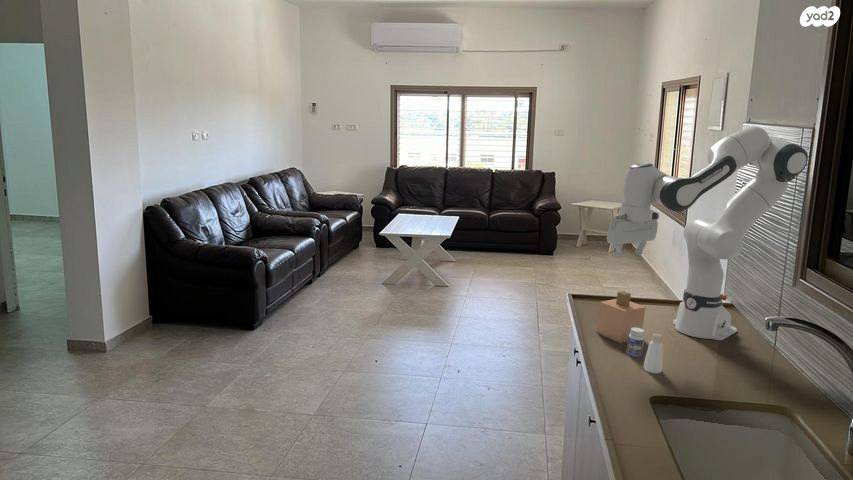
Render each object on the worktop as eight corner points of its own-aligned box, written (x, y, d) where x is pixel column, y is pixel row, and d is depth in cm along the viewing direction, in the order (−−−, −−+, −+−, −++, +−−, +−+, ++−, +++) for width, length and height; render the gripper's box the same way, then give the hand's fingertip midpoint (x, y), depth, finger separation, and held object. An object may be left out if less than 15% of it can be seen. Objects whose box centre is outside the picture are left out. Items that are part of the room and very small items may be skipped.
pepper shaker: (662, 375, 183) (667, 339, 181) (642, 371, 185) (647, 336, 183) (662, 367, 188) (667, 333, 186) (643, 364, 190) (648, 330, 188)
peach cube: (616, 327, 219) (622, 286, 215) (641, 337, 210) (647, 295, 207) (596, 332, 213) (601, 290, 210) (620, 342, 205) (626, 299, 202)
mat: (616, 327, 220) (616, 326, 220) (643, 339, 210) (644, 338, 210) (593, 333, 213) (593, 331, 213) (620, 345, 204) (620, 343, 204)
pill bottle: (625, 356, 196) (628, 330, 194) (626, 350, 200) (630, 325, 198) (641, 359, 194) (645, 333, 192) (642, 353, 198) (646, 328, 196)
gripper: (620, 217, 194) (615, 260, 197) (663, 213, 205) (656, 255, 208) (605, 213, 199) (599, 255, 202) (647, 210, 210) (641, 250, 214)
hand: (629, 255), depth 206 cm, fingers open, 8 cm apart
